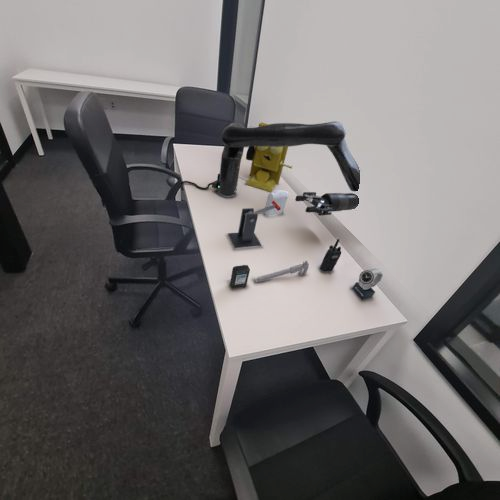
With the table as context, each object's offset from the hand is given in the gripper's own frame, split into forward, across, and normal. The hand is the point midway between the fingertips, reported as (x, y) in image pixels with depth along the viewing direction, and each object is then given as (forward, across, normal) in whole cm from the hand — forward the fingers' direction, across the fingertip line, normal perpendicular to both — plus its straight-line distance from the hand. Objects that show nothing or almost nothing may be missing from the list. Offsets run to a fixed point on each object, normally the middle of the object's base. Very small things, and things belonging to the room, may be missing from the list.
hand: (301, 204), depth 103 cm
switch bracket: (+22, 0, +16) cm, 27 cm away
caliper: (+15, +22, +16) cm, 31 cm away
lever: (+16, 0, +3) cm, 16 cm away
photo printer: (0, -19, +17) cm, 25 cm away
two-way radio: (-5, +20, +17) cm, 27 cm away
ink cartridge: (+32, +22, +16) cm, 42 cm away
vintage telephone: (-5, -51, +17) cm, 54 cm away
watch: (-12, +34, +17) cm, 40 cm away
